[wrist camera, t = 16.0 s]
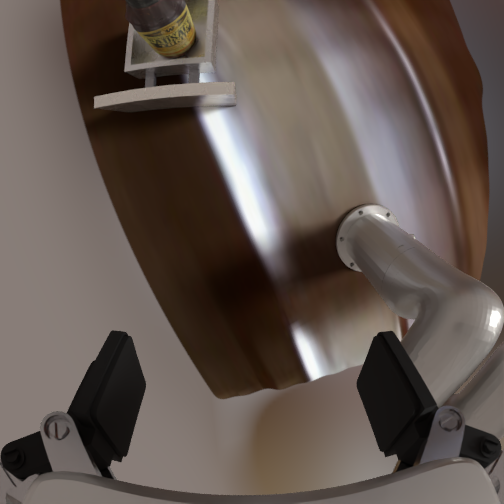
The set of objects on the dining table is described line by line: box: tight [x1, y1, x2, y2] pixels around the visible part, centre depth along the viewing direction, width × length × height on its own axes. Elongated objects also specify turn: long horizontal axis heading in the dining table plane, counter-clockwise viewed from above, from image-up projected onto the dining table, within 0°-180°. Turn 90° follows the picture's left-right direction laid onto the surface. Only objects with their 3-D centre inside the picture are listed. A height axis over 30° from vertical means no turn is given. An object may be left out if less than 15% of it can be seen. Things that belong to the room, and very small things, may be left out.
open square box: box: [94, 0, 237, 113], centre depth 29 cm, size 17×16×12 cm
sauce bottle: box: [125, 0, 196, 58], centre depth 20 cm, size 7×6×20 cm
